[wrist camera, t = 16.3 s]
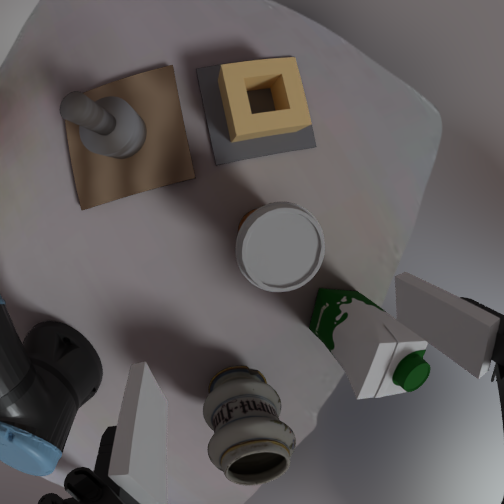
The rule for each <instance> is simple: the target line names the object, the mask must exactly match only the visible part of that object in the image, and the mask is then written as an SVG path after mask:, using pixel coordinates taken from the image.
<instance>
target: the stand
mask: <svg viewBox="0 0 504 504" xmlns="http://www.w3.org/2000/svg"><path fill="white" fill-rule="evenodd" d="M60 114H61V116H62V117H63V118H64V119H65V124H66V131H67V138H68V145H69V151H70V157H71V163H72V169H73V174H74V179H75V184H76V188H77V193H78V197H79V202H80V206H81V210H85V209H88V208H91V207H95V206H98V205H101V204H104V203H107V202H110V201H113V200H117V199H120V198H123V197H127V196H130V195H133V194H137V193H140V192H144V191H147V190H151V189H155V188H158V187H162V186H166V185H170V184H173V183H177V182H181V181H185V180H189V179H193V178H195V173H194V169H193V164H192V160H191V155H190V150H189V145H188V141H187V136H186V131H185V126H184V121H183V116H182V111H181V106H180V101H179V96H178V90H177V85H176V80H175V74H174V69H173V65H170V66H166V67H162V68H158V69H154V70H150V71H147V72H143V73H140V74H136V75H133V76H130V77H126V78H123V79H120V80H117V81H114V82H111V83H108V84H105V85H103V86H100V87H97V88H94V89H92V90H89V91H87V92H84V93H81V92H79V91H74V92H71V93H69V94H68V95H67V96H66V97H65V98H64V99H63V101H62V103H61V105H60Z"/></svg>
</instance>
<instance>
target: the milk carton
mask: <svg viewBox="0 0 504 504" xmlns="http://www.w3.org/2000/svg"><path fill="white" fill-rule="evenodd" d="M309 329H310V330H311V331H312V332H313V333H314V334H315V335H316V336H317V337H318V338H319V339H320V340H321V341H322V342H323V343H324V344H325V346H326V347H327V348H328V349H329V351H330V352H331V353H332V355H333V356H334V357H335V359H336V360H337V361H338V363H339V364H340V365H341V366H342V368H343V369H344V370H345V372H346V374H347V377H348V379H349V381H350V384H351V386H352V389H353V391H354V393H355V396H356V398H357V399H364V398H371V397H374V398H379V397H382V396H388V395H393V394H398V393H403V392H406V391H407V392H411V391H414V390H416V389H418V388H419V387H420V386H421V385H422V384H423V383H424V382H425V381H426V379H427V378H428V376H429V373H430V365H429V364H428V363H427V362H426V361H425V360H424V359H423V355H424V353H425V351H426V350H425V349H426V347H427V344H428V342H427V341H425V340H424V339H423V338H421V337H420V336H418V335H417V334H415V333H414V332H413V331H411V330H410V329H408V328H407V327H406V326H404V325H403V324H401V323H400V322H399V321H397V320H396V319H395V318H394V317H392V316H391V315H390V314H388V313H387V312H386V311H384V310H383V309H381V308H380V307H379V306H377V305H376V304H375V303H373V302H372V301H371V300H369V299H368V298H366V297H365V296H364V295H362V294H361V293H359V292H358V291H348V290H336V289H324V288H319V291H318V295H317V299H316V303H315V307H314V311H313V315H312V319H311V322H310V326H309Z"/></svg>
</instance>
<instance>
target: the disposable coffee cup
mask: <svg viewBox="0 0 504 504" xmlns="http://www.w3.org/2000/svg"><path fill="white" fill-rule="evenodd" d="M324 252H325V242H324V235H323V231H322V228H321V226H320V224H319V222H318V221H317V219H316V218H315V217H314V215H313V214H312V213H311V212H310V211H308V210H307V209H305V208H304V207H302V206H300V205H297V204H295V203H290V202H274V203H269V204H267V205H265V206H262V207H260V208H258V209H254V210H252V211H250V212H248V213H247V214H246V215H245V216H244V217H243V218H242V220H241V222H240V224H239V228H238V235H237V239H236V248H235V253H236V260H237V263H238V266H239V268H240V270H241V272H242V274H243V275H244V276H245V277H246V279H247V280H248V281H249V282H251V283H252V284H253V285H255V286H256V287H258V288H260V289H263V290H266V291H270V292H285V291H291V290H294V289H297V288H299V287H301V286H303V285H305V284H306V283H307V282H309V281H310V280H311V279H312V278H313V277H314V276H315V274H316V273H317V271H318V270H319V268H320V266H321V264H322V261H323V258H324Z"/></svg>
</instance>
